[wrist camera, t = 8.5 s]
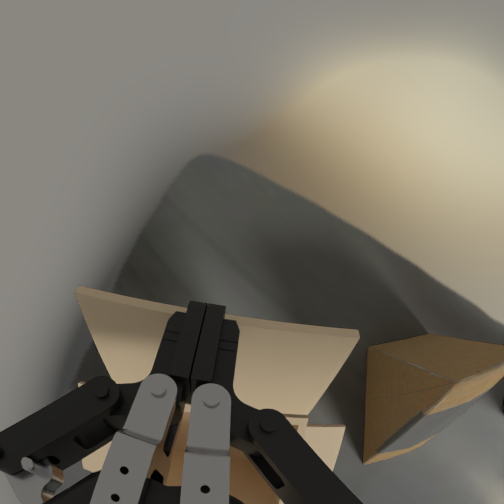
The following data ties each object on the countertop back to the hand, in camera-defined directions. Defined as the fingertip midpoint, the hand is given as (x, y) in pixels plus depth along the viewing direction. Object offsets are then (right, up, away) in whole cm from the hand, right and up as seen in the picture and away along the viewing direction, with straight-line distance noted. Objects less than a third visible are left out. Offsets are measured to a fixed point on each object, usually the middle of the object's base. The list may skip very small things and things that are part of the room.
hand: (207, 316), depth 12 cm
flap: (0, -4, +3) cm, 5 cm away
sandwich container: (+18, -14, +15) cm, 27 cm away
